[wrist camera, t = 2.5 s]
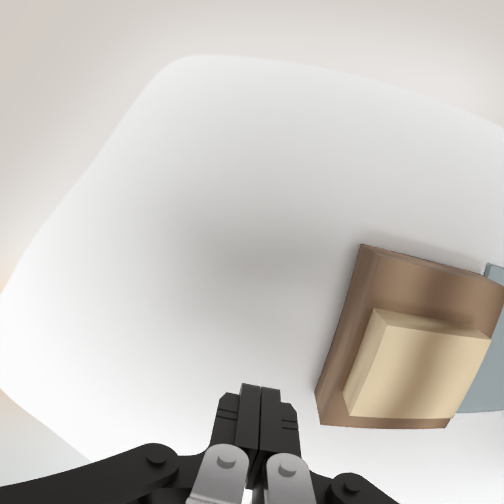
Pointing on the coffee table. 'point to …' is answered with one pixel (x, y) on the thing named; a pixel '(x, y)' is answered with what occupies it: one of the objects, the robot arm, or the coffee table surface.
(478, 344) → the oak tile
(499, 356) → the grey mat
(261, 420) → the robot arm
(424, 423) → the block
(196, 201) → the coffee table surface
